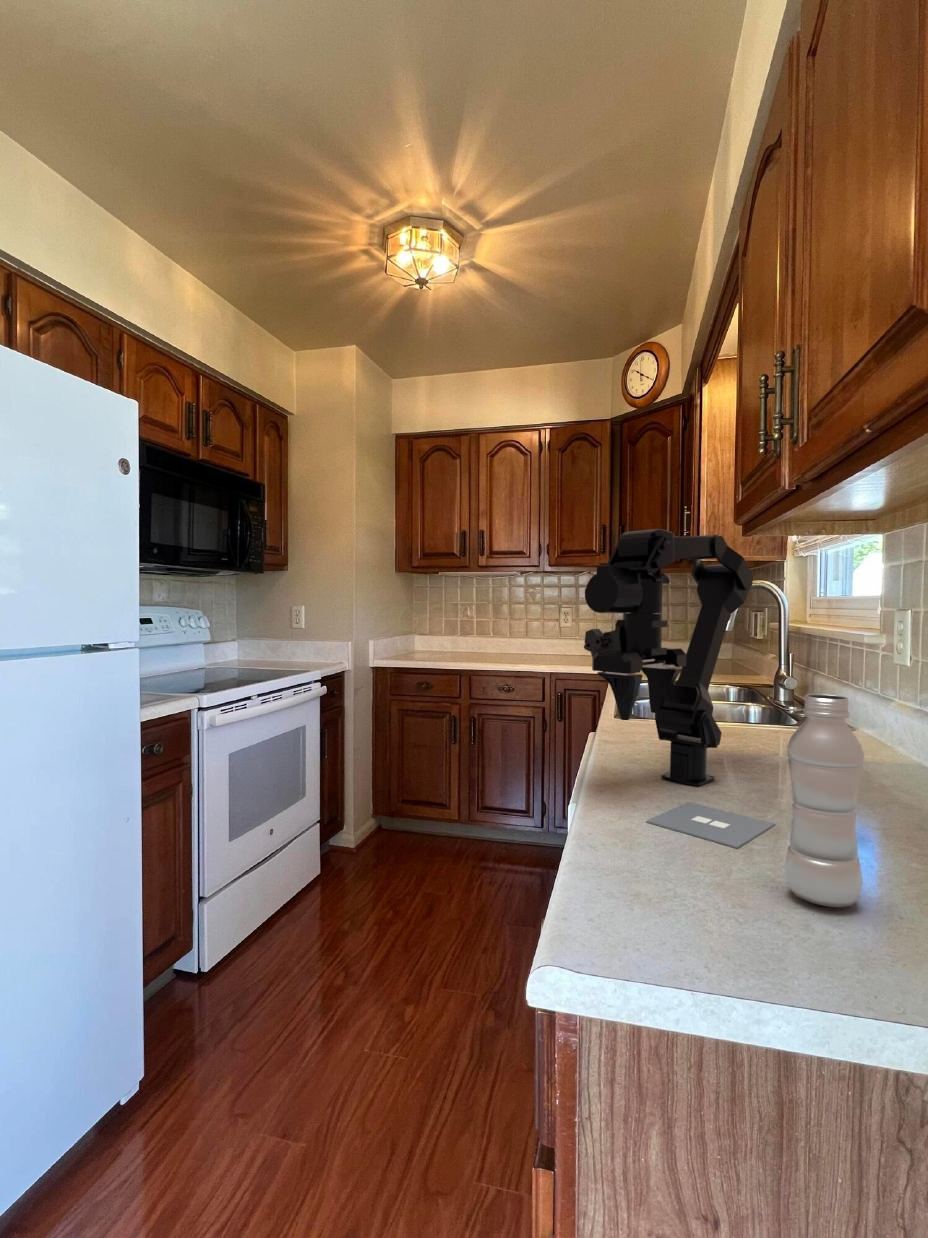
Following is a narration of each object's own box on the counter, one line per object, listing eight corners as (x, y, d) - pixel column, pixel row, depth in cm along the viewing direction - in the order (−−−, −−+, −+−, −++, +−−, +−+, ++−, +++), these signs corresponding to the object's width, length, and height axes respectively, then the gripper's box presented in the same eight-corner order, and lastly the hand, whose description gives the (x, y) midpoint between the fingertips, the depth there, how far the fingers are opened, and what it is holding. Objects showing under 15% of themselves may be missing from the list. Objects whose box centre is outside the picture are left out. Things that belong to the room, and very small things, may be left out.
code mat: (688, 803, 90) (688, 801, 90) (775, 825, 81) (775, 823, 81) (646, 822, 82) (646, 820, 82) (737, 848, 73) (737, 847, 73)
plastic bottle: (879, 914, 58) (884, 701, 57) (814, 919, 57) (820, 702, 56) (827, 883, 64) (832, 691, 64) (768, 887, 63) (773, 692, 63)
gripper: (625, 612, 106) (623, 703, 106) (562, 612, 92) (560, 716, 92) (688, 613, 98) (686, 712, 98) (629, 613, 84) (627, 727, 85)
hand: (640, 716), depth 94 cm, fingers open, 9 cm apart
